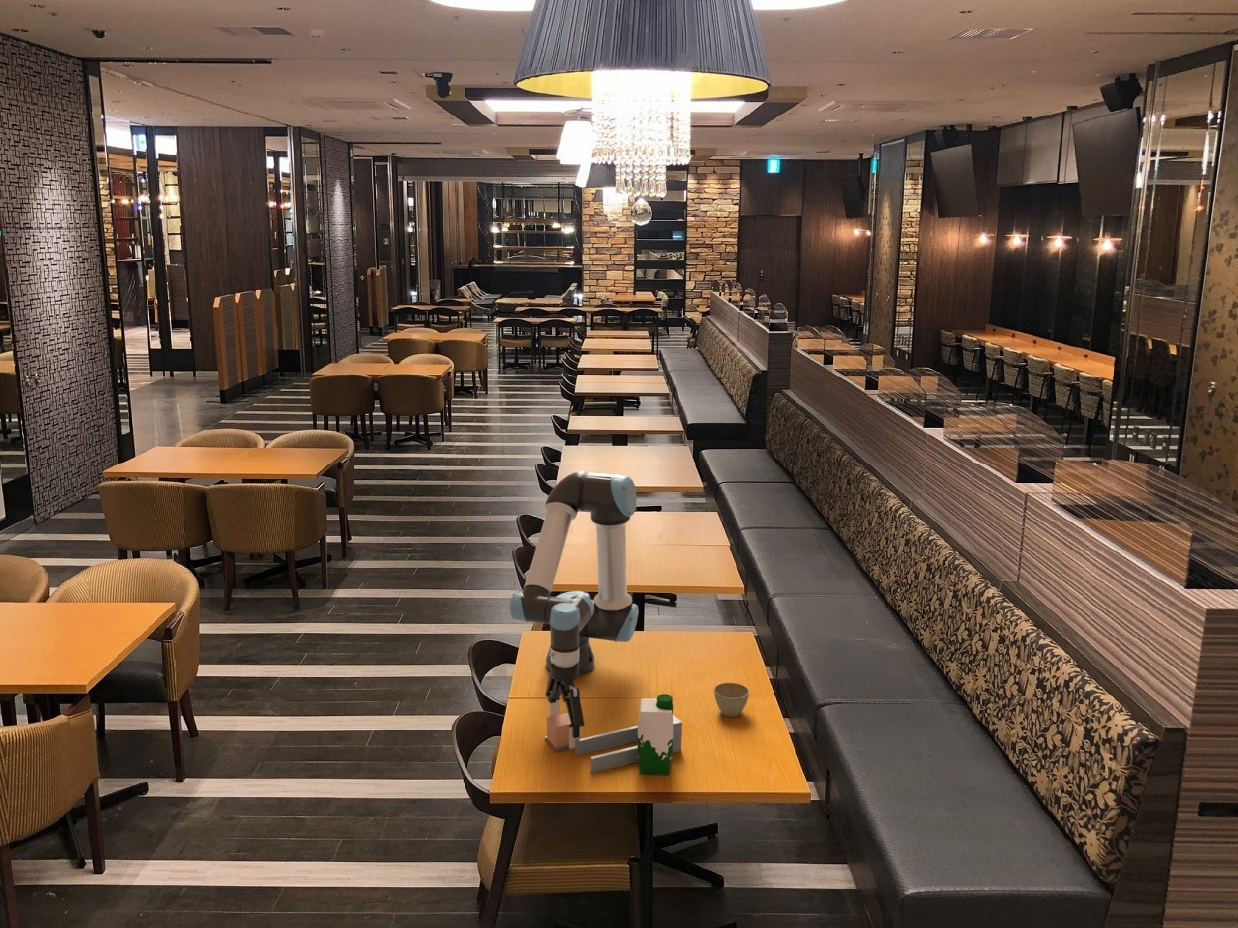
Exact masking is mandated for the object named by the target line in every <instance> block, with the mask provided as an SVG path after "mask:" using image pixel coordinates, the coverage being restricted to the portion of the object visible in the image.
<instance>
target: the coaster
mask: <svg viewBox="0 0 1238 928" xmlns="http://www.w3.org/2000/svg"><path fill="white" fill-rule="evenodd" d="M544 739H545V740H546V741H547V743H548V744H549V745H550V747H552V748H553V749H554V751H555V752H556V753H559V752H564V751H568V750H572V749H574V748H572V749H570V748H569V745H566V746H562V747H558V748H555V746H554V745H553V744H552V743H551V742H550V741H549V740H548V738H547V735H544Z"/></svg>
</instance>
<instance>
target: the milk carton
mask: <svg viewBox="0 0 1238 928" xmlns="http://www.w3.org/2000/svg"><path fill="white" fill-rule="evenodd" d="M656 697H657V698H656ZM656 697H651V698H647V697H645V698H644V697H643V698H642V697H641V699H640V705H639V712H638V718H637V719H638V720H637V721H638V722H637V726H638V741H636V743H637V745H636V746H637V749H638V760H639V761H638V766H639V774H640V775H644V776H645V775H647V776H648V775H649V776H668V777H669V776H670V771H671V764H672V760H673V759H672V758H673V753H672V751H673V726H674V725H673V715H674V703H673V702H674V697H673V696H672V695H670V694H666V693H665V694H663V693H662V694H658V695H657V696H656Z"/></svg>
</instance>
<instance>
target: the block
mask: <svg viewBox="0 0 1238 928" xmlns="http://www.w3.org/2000/svg"><path fill="white" fill-rule="evenodd" d="M569 725H571V722H570V718H569V714H568V712H565V713H559V715H555V716H550V717H549V716H547V717H546V736H547V738H548V740H549V741H550V742H551V743H552V744H553V745H554V746H555V748H558V747H562V746H566V745H569Z"/></svg>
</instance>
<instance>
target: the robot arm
mask: <svg viewBox="0 0 1238 928" xmlns="http://www.w3.org/2000/svg"><path fill="white" fill-rule="evenodd" d="M636 489H637V488H636V484H635V483H634V480H633V479H632V478H631V477H630V476H628V475H623V474H619V473H614V474H613V473H603V472H593V471H585V470H584V471H575V472H572V473H570V474H568V475H566V476H565V477H564V478H562V479H561V480H560V481H559V482H558V483H556V485H555V486H554V487H553V489H552V490H551V491H550V493H549V494H548V497H547V499H546V501H545V504H544V508H543V509H544V513H545V516H544V520H543V524H542V526H541V530H540V533H539V537H538V539H537V543H536V546H535V549H534V554H533V557H532V560H531V563H530V567H529V570H528V574H527V577H526V580H525V582H524V583H525V584H524V586H523V590H522V591H520V592H514V593H513V595H512V596H511V598H510V602H509V614H510V616H511V618H512V619H513V620H516V621H521V622H526V623H529V622H530V623H536V624H537V623H538V624H539V623H540V624H545V625H550V646H549V648H548V651H547V655H546V658H545V668H546V669H547V670H548V671H549V679H548V683H547V687H546V690H545V693H544V694H545V698H546V697H547V701H548V704H549V705H548V712H549V713H548V717H550V716H555V715H560V701H561V699H562V701H563V703H565V706H566V710H567V713H568V714H569V718H570V722H571V725H569V748H570V749H569V750H572V748H573V749H575V740H577V739H581V727H585V719H584V714H583V708H582V702H581V693H580V692H581V691H580V688H579V687H575V684H574V681H575V680H576V679H577V678H578V677H579V676H580V675H583V674H586V673H589V672H591V671H592V670H593V669H594V667H595V657H594V653H593V649H592V647H591V643H590V639H596V640H605V641H612V642H615V643H618V642H622V643H628V642H630V640H631V639H632V638H633V636H634V633H635V630H636V628H637V627H636V626H637V622H638V617H639V610H640V609H639V606H638V605H637V604H636V603H633V598H632V596H631V594H630V593H628V590H627V589H628V587H627V583H628V582H627V543H626V537H627V534H626V533H627V532H626V524H627V523H628V522H629V521H630V520H631V517H632V516H634V514H635V513H636V510H637V500H638V499H637V490H636ZM579 512H585V513H590V520H591V522H592V523H593V524H595V526H596V528H595V529H596V558H597V560H596V561H597V583H598V584H597V587H598V593H597V594H596V595H595V596H594V598H593V599H591V597H590V594H589V593H588V592H586V591H582V590H581V591H580V590H573V591H567V592H563V593H560V594H558V595H557V596H552V595H551V593H552V590H553V586H554V582H555V579H556V577H557V573H558V568H559V566H560V562H561V558H562V556H563V551H564V548H565V544H566V541H567V539H568V533H569V530H570V527H571V523H572V521H575V519H576V518H577V516H578V513H579ZM560 697H561V698H560Z"/></svg>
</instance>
